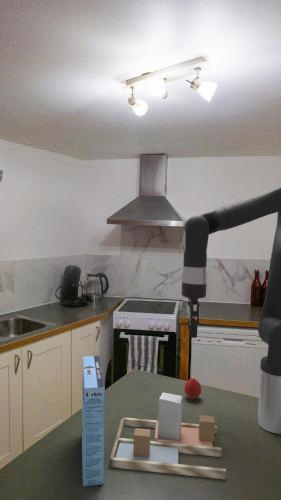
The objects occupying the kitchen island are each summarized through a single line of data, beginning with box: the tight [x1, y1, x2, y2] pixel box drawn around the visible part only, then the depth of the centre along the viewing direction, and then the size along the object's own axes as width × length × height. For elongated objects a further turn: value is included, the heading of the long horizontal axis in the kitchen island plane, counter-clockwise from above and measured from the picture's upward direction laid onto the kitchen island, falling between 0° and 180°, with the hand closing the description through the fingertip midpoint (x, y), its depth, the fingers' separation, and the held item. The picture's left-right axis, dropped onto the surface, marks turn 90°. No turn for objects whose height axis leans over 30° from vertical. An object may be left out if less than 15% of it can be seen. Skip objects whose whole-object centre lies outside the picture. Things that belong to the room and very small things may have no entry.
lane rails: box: [109, 416, 227, 480], centre depth 88 cm, size 28×18×2 cm, turn 84°
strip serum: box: [154, 414, 216, 447], centre depth 91 cm, size 16×8×7 cm, turn 84°
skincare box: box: [157, 392, 183, 441], centre depth 92 cm, size 6×4×12 cm
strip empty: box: [115, 427, 179, 464], centre depth 84 cm, size 16×7×7 cm, turn 84°
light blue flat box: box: [81, 355, 106, 487], centre depth 83 cm, size 20×5×23 cm, turn 10°
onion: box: [183, 376, 202, 400], centre depth 114 cm, size 6×6×8 cm
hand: (192, 333), depth 101 cm, fingers open, 8 cm apart
